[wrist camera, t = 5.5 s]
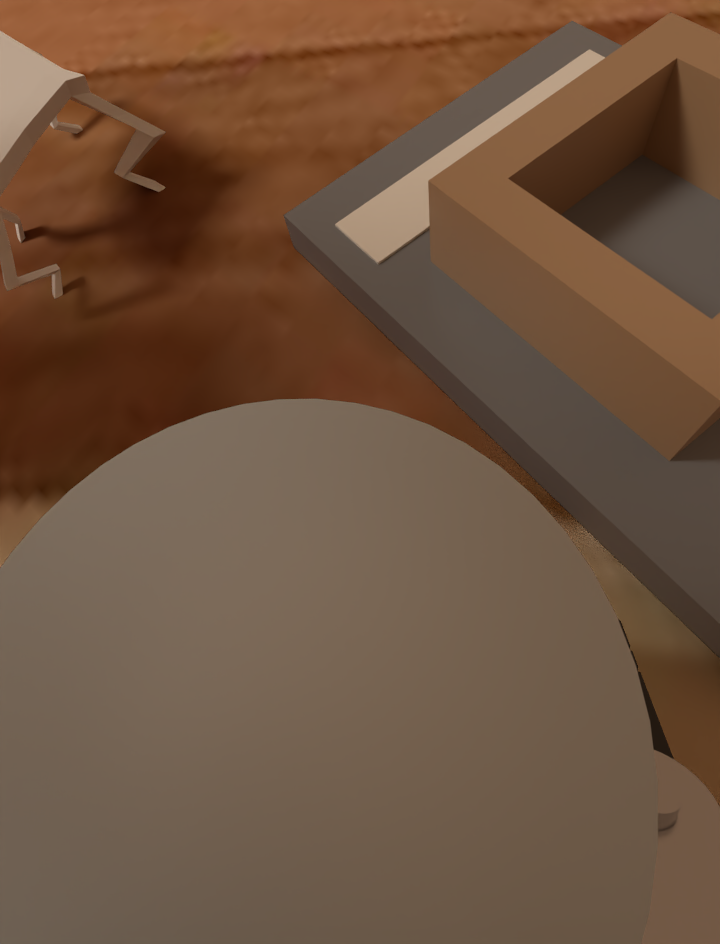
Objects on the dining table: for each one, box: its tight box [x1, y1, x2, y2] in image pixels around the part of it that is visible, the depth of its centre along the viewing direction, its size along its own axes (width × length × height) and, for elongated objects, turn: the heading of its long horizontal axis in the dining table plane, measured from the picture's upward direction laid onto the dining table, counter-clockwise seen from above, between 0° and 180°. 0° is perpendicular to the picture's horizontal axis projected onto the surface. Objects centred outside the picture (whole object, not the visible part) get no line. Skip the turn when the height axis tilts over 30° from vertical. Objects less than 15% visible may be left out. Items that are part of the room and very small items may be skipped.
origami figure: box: [0, 31, 166, 299], centre depth 22 cm, size 12×8×5 cm
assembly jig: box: [284, 13, 720, 658], centre depth 16 cm, size 20×14×4 cm
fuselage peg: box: [0, 399, 658, 944], centre depth 9 cm, size 4×4×12 cm
